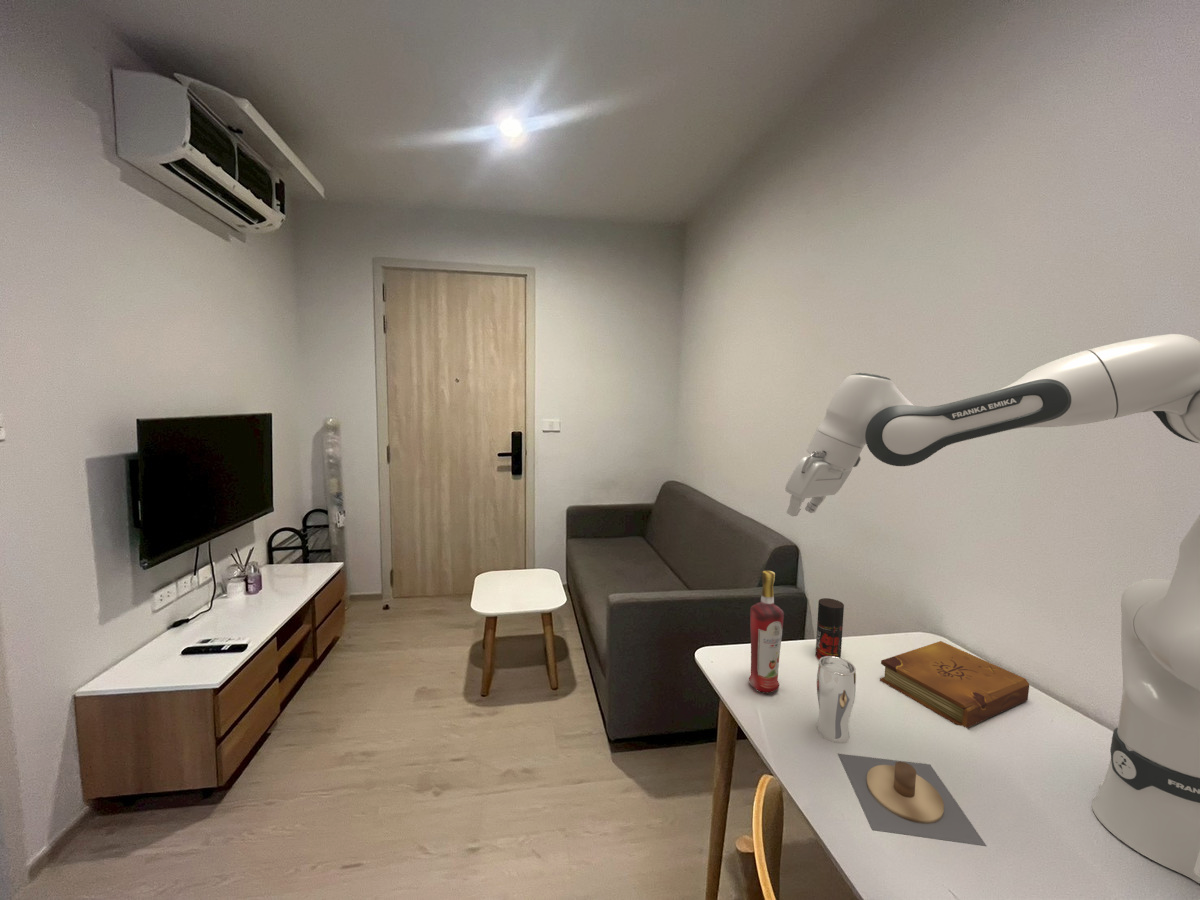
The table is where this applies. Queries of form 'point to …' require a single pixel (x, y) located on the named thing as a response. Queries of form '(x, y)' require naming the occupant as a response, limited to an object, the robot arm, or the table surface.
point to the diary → (954, 683)
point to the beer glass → (835, 697)
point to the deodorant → (829, 628)
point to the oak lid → (905, 793)
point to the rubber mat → (881, 819)
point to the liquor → (765, 638)
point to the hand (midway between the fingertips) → (800, 513)
